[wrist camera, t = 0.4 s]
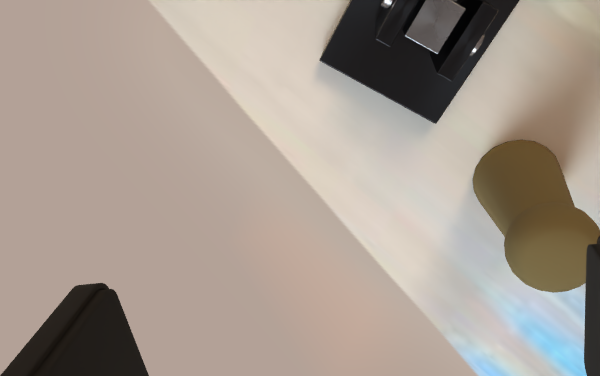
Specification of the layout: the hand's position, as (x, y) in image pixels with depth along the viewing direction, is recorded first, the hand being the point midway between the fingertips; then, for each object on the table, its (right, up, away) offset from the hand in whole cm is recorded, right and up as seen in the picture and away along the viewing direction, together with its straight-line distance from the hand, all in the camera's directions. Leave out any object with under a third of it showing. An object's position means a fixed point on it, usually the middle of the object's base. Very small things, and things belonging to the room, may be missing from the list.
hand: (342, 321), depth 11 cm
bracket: (+7, +14, +25) cm, 29 cm away
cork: (+15, +3, +29) cm, 33 cm away
